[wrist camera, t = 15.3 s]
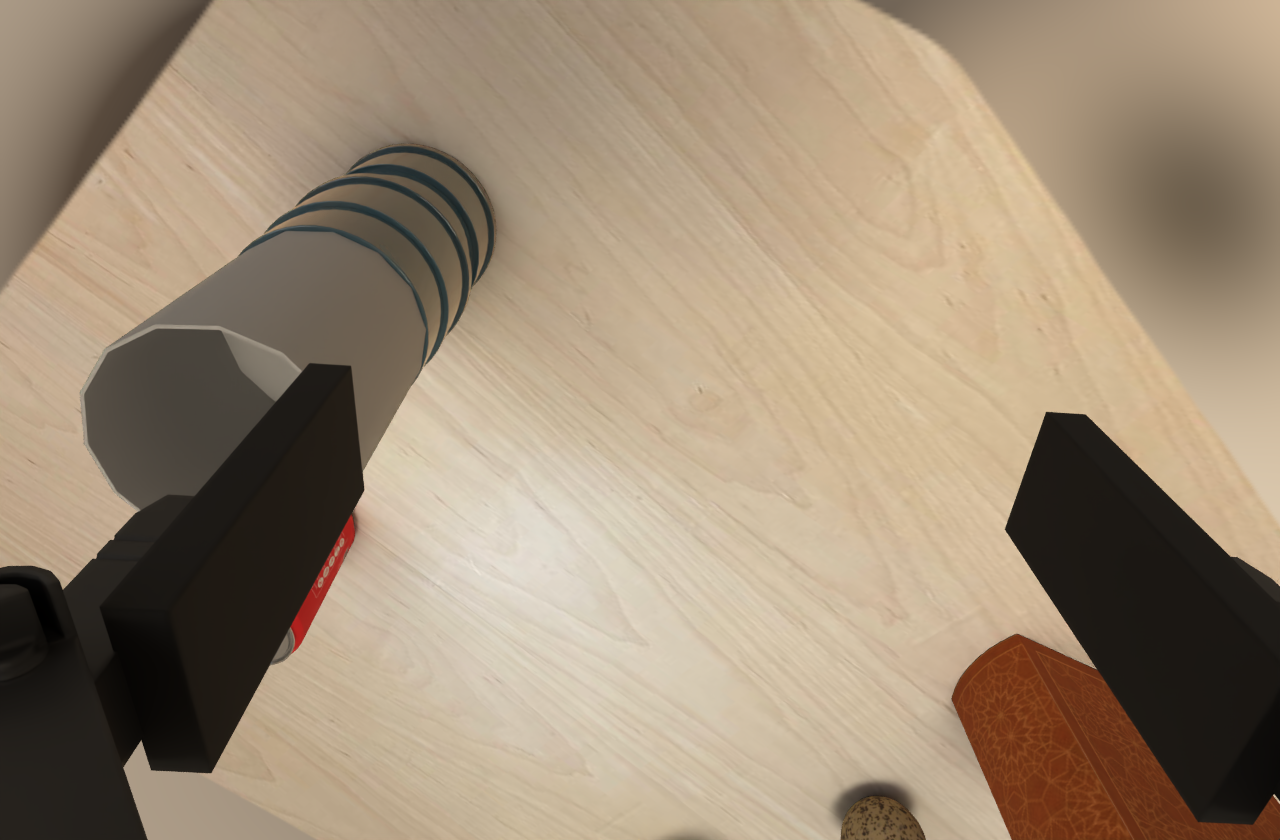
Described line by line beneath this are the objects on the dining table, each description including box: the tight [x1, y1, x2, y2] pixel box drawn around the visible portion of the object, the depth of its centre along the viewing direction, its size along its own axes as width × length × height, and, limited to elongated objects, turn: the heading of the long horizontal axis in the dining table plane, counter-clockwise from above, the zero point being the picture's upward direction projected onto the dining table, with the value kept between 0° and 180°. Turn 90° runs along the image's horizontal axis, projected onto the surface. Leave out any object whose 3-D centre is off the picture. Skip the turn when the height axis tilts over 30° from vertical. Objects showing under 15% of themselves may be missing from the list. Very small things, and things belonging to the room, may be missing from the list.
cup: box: [80, 231, 426, 511], centre depth 30 cm, size 8×8×10 cm
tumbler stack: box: [239, 144, 496, 386], centre depth 42 cm, size 9×9×16 cm
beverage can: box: [270, 514, 355, 665], centre depth 53 cm, size 5×5×12 cm
